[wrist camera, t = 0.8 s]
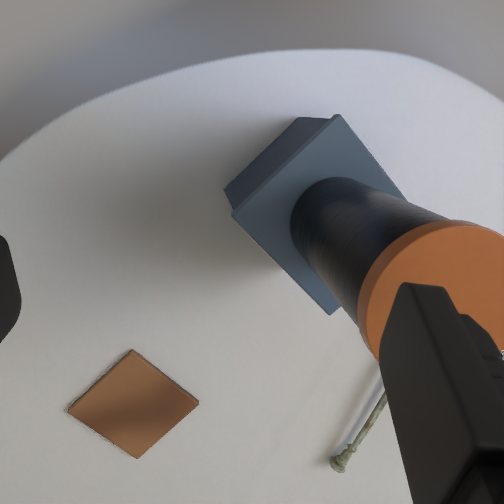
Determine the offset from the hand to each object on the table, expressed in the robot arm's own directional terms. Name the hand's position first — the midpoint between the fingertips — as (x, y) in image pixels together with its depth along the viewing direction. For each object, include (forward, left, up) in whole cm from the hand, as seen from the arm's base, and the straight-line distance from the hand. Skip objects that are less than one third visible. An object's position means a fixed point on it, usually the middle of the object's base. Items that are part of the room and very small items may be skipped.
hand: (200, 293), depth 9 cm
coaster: (+12, -19, -25) cm, 33 cm away
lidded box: (+8, +4, -25) cm, 26 cm away
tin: (+8, +4, -16) cm, 18 cm away
